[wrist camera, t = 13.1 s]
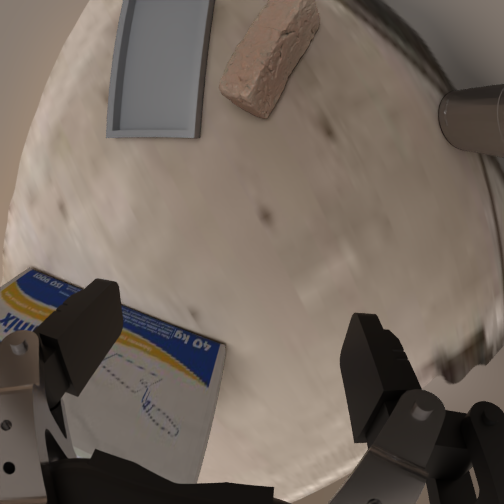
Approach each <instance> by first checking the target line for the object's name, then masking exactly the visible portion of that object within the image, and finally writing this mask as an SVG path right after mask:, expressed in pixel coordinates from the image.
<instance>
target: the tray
mask: <svg viewBox="0 0 504 504" xmlns="http://www.w3.org/2000/svg"><path fill="white" fill-rule="evenodd" d="M214 3H215V0H123V4H122V8H121V13H120V18H119V23H118V29H117V35H116V41H115V47H114V54H113V61H112V69H111V78H110V87H109V98H108V111H107V129H106V138H120V137H180V138H200V130H201V118H202V106H203V95H204V85H205V75H206V65H207V56H208V48H209V40H210V32H211V24H212V17H213V10H214Z"/></svg>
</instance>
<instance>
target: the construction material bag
mask: <svg viewBox="0 0 504 504" xmlns="http://www.w3.org/2000/svg"><path fill="white" fill-rule="evenodd" d="M81 290H83V289H80V288H77V287H75V286H72V285H70V284H67V283H65V282H62V281H60V280H57V279H55V278H52V277H50V276H47V275H45V274H43V273H40V272H38V271H35V270H33V269H31V268H28V269H27V270H26V271H24V272H22V273H21V274H19V275H18V276H16V277H15V278H13V279H12V280H10V281H9V282H7V283H6V284H5V285H3V286H2V287H0V342H1V341H2V340H3V339H4V338H5V337H6V336H7V335H9V334H10V333H13V332H15V331H19V330H29V331H32V332H33V331H34V330H35V329H36V328H37V327H38V326H39V325H40V324H41V323H42V322H43V321H44V320H45V319H46V318H47V317H48V316H49V315H50V314H51V313H52V312H54V311H56V309H57V308H58V307H59V306H60V305H63V302H64V301H65V300H66V299H67V298H69V297H70V296H71V295H73V294H75V293H77V292H79V291H81ZM121 307H122V314H123V329H122V332H121V335H120V336H119V338H118V339H117V341H116V342H115V343H114V345H113V346H112V348H111V349H110V351H109V352H108V353H107V355H106V356H105V358H104V359H103V361H102V362H101V364H100V365H99V367H98V368H97V370H96V371H95V372H94V374H93V375H92V377H91V378H90V380H89V381H88V383H87V384H86V386H85V387H84V389H83V390H82V392H81V393H80V395H79V397H77V396H74V395H71V394H69V393H66V392H65V394H64V395H63V397H62V399H63V401H64V405H65V411H66V416H67V422H68V427H69V432H70V436H71V441H72V445H73V448H74V451H75V453H76V456H77V458H91V456H92V454H93V452H94V450H95V449H98V450H100V451H103V452H106V453H109V454H111V455H114V456H117V457H120V458H123V459H126V460H130V461H133V462H135V463H137V464H139V465H141V466H142V467H144V468H146V469H148V470H150V471H152V472H154V473H156V474H158V475H159V476H161V477H163V478H165V479H168V480H170V481H172V482H174V483H179V484H197V481H198V477H199V473H200V470H201V466H202V462H203V459H204V455H205V451H206V447H207V443H208V439H209V435H210V431H211V427H212V422H213V418H214V413H215V409H216V404H217V399H218V394H219V389H220V384H221V378H222V373H223V367H224V361H225V356H226V350H225V345H223V344H220V343H217V342H215V341H212V340H209V339H206V338H204V337H201V336H198V335H196V334H193V333H190V332H188V331H185V330H183V329H180V328H178V327H175V326H173V325H170V324H167V323H165V322H162V321H160V320H157V319H155V318H152V317H150V316H148V315H145V314H143V313H140V312H138V311H135V310H133V309H130V308H128V307H125V306H123V305H121Z"/></svg>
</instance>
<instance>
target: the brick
mask: <svg viewBox="0 0 504 504" xmlns="http://www.w3.org/2000/svg"><path fill="white" fill-rule="evenodd" d="M317 11H318V10H317V7H316V3H315V0H268V3H267V5H265V6H264V8H263V9H262V11H261V12H260V13H259V15H258V17H257V18H256V19H255V20H254V22H253V23H252V26H251V27H250V28H249V30H248V33H247V34H246V35H245V37H244V39H243V40H242V42H240V43H239V44H238V45H237V47H236V49H235V52H234V53H233V55H232V57H231V59H230V61H229V62H228V64H227V67H226V69H225V71H224V74H223V76H222V78H221V80H220V85H219V89H220V91H221V93H222V94H223V95H224V96H225V97H226V98H228V99H229V100H231V101H232V103H234V104H235V105H237V106H239V107H240V108H242V109H243V110H245V111H248V112H250V113H251V114H253V115H255V116H257V117H261V118H267V117H268V116H269V114H270V112H271V111H272V110H273V108H274V106H275V104H276V103H277V101H278V99H279V97H280V96H281V93H282V91H283V89H284V88H285V84H286V82H287V79H288V76H289V75H290V74H291V72H292V70H293V69H294V67H295V66H296V64H297V62H298V61H299V59H300V57H301V56H302V55H303V54H304V52H305V51H306V49H307V48H308V46H309V44H310V41H311V39H313V37H314V34H315V32H316V31H317V30H318V28H319V25H320V16H319V13H318V12H317Z"/></svg>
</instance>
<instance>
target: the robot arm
mask: <svg viewBox="0 0 504 504" xmlns="http://www.w3.org/2000/svg"><path fill="white" fill-rule="evenodd" d="M439 121H440V126H441V129H442V131H443V133H444V135H445V137H446V138H447V140H448V141H449V142H450V143H451V144H452V145H453V146H455V147H456V148H458V149H461V150H465V151H471V152H476V153H482V154H487V155H492V156H497V157H502V158H504V84H499V85H490V86H483V87H475V88H469V89H463V90H456V91H452V92H450V93H448V94H447V95H446V96H445V97H444V98H443V100H442V102H441V104H440V108H439ZM122 329H123V314H122V307H121V299H120V291H119V286H118V284H117V282H115V281H109V280H103V279H95V280H94V281H93V282H92V283H91V284H89V285H88V286H87V287H86V288H85V289H83V290H81V291H79V292H77V293H75V294H73V295H71V296H70V297H69V298H67V299H66V300H65V301H64V302H63V305H60V306H59V307H58V308H57V309H56V311H54V312H52V313H51V314H50V315H49V316H48V317H47V318H46V319H45V320H44V321H43V322H42V323H41V324H40V325H39V326H38V327H37V328H36V329H35V330H34V331H33V332H32V331H29V330H19V331H15V332H13V333H10V334H9V335H7V336H6V337H5V338H4V339H3V340H2V341H1V342H0V504H291V503H288V502H285V501H283V500H280V499H276V498H273V494H274V487H266V486H254V485H244V484H236V483H228V482H224V483H201V484H179V483H174V482H172V481H170V480H168V479H165V478H163V477H161V476H159V475H158V474H156V473H154V472H152V471H150V470H148V469H146V468H144V467H142V466H141V465H139V464H137V463H135V462H133V461H130V460H126V459H123V458H120V457H117V456H114V455H111V454H109V453H106V452H103V451H100V450H98V449H95V450H94V452H93V454H92V456H91V458H77V456H76V453H75V451H74V448H73V445H72V441H71V436H70V432H69V427H68V422H67V416H66V411H65V405H64V401H63V399H62V397H63V395H64V394H65V392H66V393H69V394H71V395H74V396H77V397H79V395H80V393H81V392H82V390H83V389H84V387H85V386H86V384H87V383H88V381H89V380H90V378H91V377H92V375H93V374H94V372H95V371H96V370H97V368H98V367H99V365H100V364H101V362H102V361H103V359H104V358H105V356H106V355H107V353H108V352H109V351H110V349H111V348H112V346H113V345H114V343H115V342H116V341H117V339H118V338H119V336H120V335H121V332H122ZM340 369H341V373H342V378H343V383H344V388H345V394H346V399H347V404H348V409H349V415H350V420H351V426H352V432H353V438H354V443H367V445H368V450H367V452H366V453H365V455H364V456H363V458H362V459H361V460H360V462H359V463H358V465H357V466H356V467H355V469H354V470H353V472H352V473H351V474H350V476H349V477H348V478H347V480H346V481H345V482H344V483H343V485H342V486H341V487H340V489H339V490H338V491H337V492H336V494H335V495H334V496H333V497H332V498H331V500H330V501H329V502H328V503H327V504H416V502H417V500H418V498H419V496H420V494H421V492H422V490H423V488H424V485H425V483H426V484H427V489H428V495H429V501H430V504H504V413H503V411H502V410H501V409H500V408H499V407H498V406H496V405H495V404H493V403H490V402H486V401H481V402H478V403H475V404H474V405H473V406H472V408H471V409H470V410H469V412H468V413H467V414H466V413H460V412H454V411H448V410H445V407H444V405H443V403H442V401H441V400H440V399H439V398H438V397H437V396H435V395H434V394H432V393H430V392H428V391H425V390H422V388H421V386H420V384H419V382H418V379H417V377H416V375H415V373H414V371H413V368H412V366H411V364H410V362H409V360H408V358H407V355H406V353H405V352H404V349H403V347H402V345H401V343H400V341H399V339H398V338H397V337H396V336H395V335H394V334H393V333H392V332H391V331H390V330H385V329H383V327H382V325H381V323H380V321H379V319H378V316H377V315H376V314H365V313H354V314H353V315H352V317H351V320H350V324H349V327H348V330H347V334H346V337H345V340H344V343H343V346H342V350H341V354H340ZM472 467H473V468H474V471H475V475H476V478H477V481H478V485H479V489H480V490H479V497H478V499H477V498H476V494H475V490H474V487H473V483H472V480H471V476H470V472H469V470H470V469H471V468H472Z"/></svg>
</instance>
